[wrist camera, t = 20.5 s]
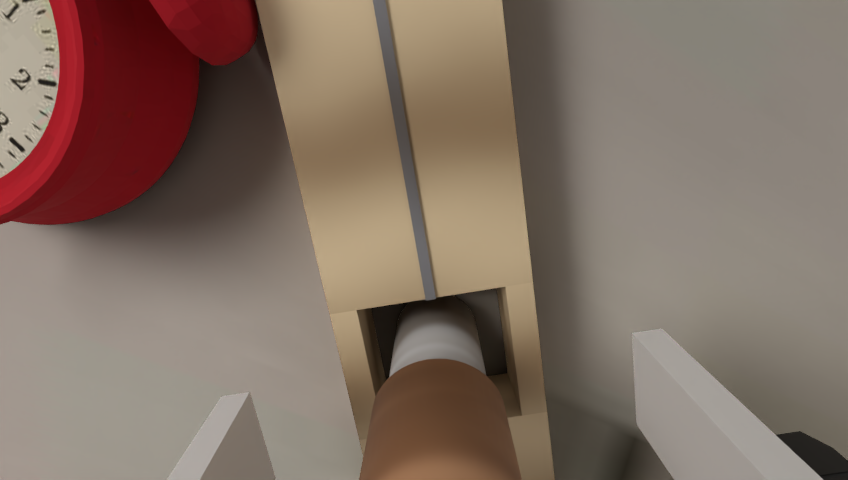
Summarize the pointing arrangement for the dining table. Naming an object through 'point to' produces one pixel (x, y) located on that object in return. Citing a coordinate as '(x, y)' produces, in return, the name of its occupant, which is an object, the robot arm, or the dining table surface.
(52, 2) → the alarm clock
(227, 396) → the robot arm
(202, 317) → the dining table surface
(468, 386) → the wooden tool handle
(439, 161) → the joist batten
